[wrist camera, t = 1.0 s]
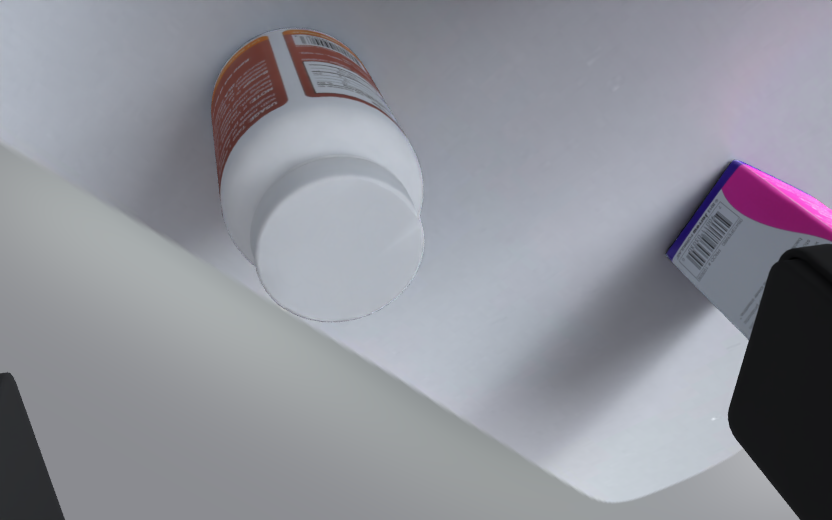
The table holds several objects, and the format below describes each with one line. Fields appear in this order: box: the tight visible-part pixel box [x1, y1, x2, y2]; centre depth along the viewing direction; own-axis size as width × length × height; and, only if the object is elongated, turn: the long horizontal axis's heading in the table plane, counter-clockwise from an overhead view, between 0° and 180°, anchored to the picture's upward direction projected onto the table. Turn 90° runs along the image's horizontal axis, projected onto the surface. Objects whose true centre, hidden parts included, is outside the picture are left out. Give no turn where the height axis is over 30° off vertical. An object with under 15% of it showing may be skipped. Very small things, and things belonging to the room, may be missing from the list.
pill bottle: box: [211, 28, 424, 322], centre depth 26 cm, size 6×6×11 cm
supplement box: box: [666, 160, 832, 340], centre depth 35 cm, size 6×6×12 cm
